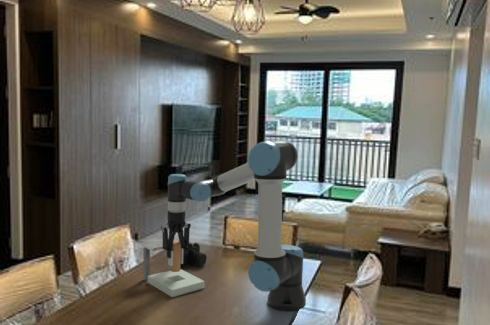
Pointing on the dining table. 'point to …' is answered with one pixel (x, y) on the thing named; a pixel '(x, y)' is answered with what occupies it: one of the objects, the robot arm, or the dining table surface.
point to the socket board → (176, 282)
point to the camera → (193, 256)
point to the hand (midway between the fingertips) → (175, 263)
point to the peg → (176, 257)
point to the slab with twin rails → (146, 256)
